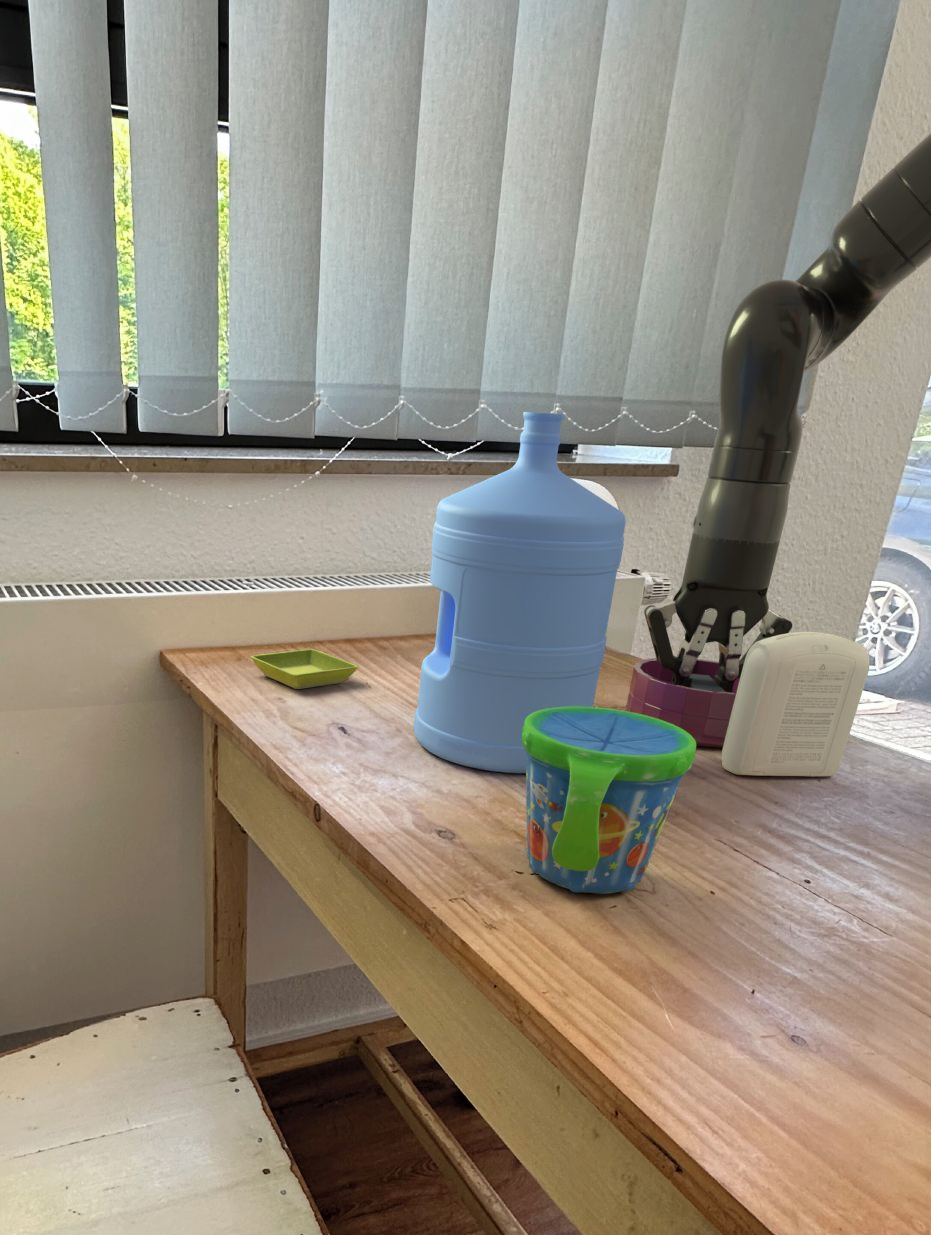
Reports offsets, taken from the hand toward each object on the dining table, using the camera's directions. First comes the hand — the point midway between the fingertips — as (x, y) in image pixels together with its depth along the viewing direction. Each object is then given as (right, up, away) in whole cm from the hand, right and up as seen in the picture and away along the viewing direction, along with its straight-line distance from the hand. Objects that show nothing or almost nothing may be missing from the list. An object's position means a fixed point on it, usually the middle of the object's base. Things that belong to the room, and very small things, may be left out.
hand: (695, 712), depth 94 cm
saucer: (-39, +5, +10) cm, 40 cm away
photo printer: (+3, -7, -10) cm, 12 cm away
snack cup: (-20, -14, -30) cm, 39 cm away
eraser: (0, 0, 0) cm, 0 cm away
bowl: (0, -2, +1) cm, 2 cm away
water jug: (-21, -4, -7) cm, 23 cm away
